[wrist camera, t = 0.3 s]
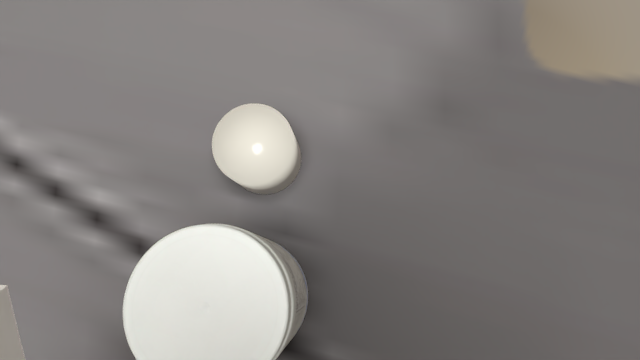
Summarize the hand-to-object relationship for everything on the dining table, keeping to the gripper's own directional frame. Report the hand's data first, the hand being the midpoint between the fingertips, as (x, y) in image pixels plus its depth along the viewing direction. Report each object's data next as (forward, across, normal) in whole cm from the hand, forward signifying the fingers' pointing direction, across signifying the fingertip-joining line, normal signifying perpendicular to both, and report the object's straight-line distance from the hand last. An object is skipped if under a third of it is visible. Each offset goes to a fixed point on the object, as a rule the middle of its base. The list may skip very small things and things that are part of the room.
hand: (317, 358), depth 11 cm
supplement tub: (+28, +9, +17) cm, 34 cm away
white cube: (+34, +9, +7) cm, 36 cm away
